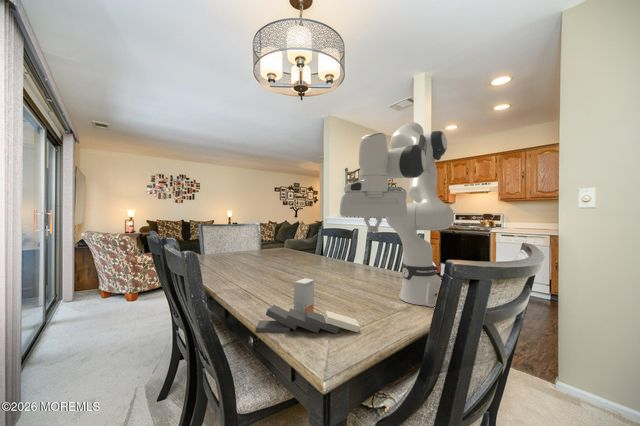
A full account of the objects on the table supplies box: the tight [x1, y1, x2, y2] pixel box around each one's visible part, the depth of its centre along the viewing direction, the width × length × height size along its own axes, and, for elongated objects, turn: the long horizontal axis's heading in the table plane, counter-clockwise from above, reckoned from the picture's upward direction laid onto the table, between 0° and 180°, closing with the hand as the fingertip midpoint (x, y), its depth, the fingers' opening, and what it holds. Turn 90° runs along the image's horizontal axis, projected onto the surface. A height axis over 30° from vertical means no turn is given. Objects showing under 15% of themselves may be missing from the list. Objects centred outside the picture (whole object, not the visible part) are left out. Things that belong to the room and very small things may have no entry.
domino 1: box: [255, 319, 292, 333], centre depth 77 cm, size 2×5×10 cm
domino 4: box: [305, 310, 340, 335], centre depth 76 cm, size 2×5×10 cm
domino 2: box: [265, 304, 299, 331], centre depth 78 cm, size 2×5×10 cm
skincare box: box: [293, 277, 315, 314], centre depth 86 cm, size 6×4×12 cm
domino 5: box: [323, 310, 361, 333], centre depth 76 cm, size 2×5×10 cm
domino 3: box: [286, 308, 321, 334], centre depth 76 cm, size 2×5×10 cm
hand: (372, 231), depth 78 cm, fingers closed
